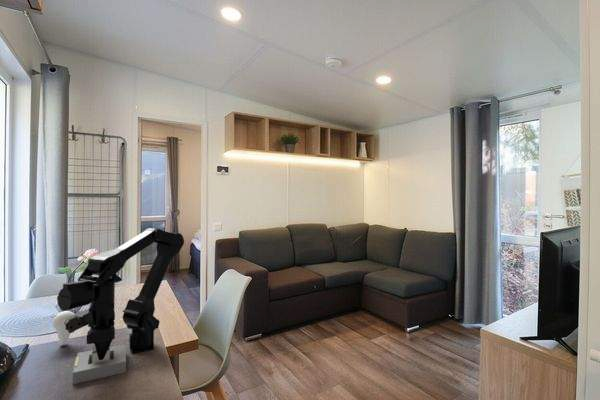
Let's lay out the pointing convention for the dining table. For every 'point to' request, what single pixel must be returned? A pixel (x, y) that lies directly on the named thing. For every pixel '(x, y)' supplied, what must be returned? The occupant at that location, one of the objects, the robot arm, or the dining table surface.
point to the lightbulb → (62, 326)
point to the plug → (95, 356)
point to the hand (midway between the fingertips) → (101, 355)
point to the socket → (99, 365)
